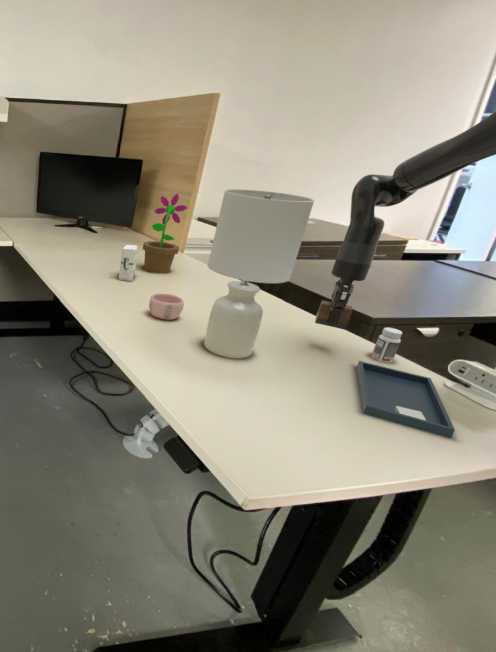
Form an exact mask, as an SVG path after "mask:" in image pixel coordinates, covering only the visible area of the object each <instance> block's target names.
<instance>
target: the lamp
mask: <svg viewBox="0 0 496 652" xmlns="http://www.w3.org/2000/svg"><path fill="white" fill-rule="evenodd" d="M314 203H315V199H313V198H312V197H308V196H303V195H297V194H291V193H285V192H277V191H268V190H257V189H245V188H244V189H241V188H229V189H228V188H227V189H225V190H224V193H223V197H222V202H221V205H220V210H219V215H218V219H217V223H216V228H215V232H214V236H213V240H212V245H211V249H210V252H209V259H208V261H207V268H208V269H209V270H210V271H212V272H214V273H216V274H218V275H221V276H225V277H226V278H227V277H228V278H231V279H235V280H232V281H229V282H227V288H228V293H227V294H226V295H222V296H220V297H218V298H216V300H214V302H213V305H212V307H211V310H210V314H209V317H208V321H207V324H206V325H207V326H206V329H205V335H204V341H203V345H204V347H205V349H206V350H208V352H211V353H213V354H215V355H216V356H217V355H218V356H219V357H224V358H229V359H246V358H248V357H250V356H251V355H252V352H253V349H254V346H255V344H256V340H257V338H258V334H259V331H260V327H261V324H262V321H263V314H264V313H263V311H264V310H263V307H262V306H261V304H259V303H258V302H257V301H256V299H255V296H256V295H257V294H258V293H259V292H260V291H261V288H260V287H259V286H258V285H257V284H254V283H258V284H259V283H260V284H284V283H287V282H289V281H290V280H291V277H292V274H293V272H294V271H293V270H294V267H295V264H296V261H297V258H298V255H299V251H300V249H301V246H302V242H303V239H304V235H305V233H306V229H307V226H308V222H309V219H310V216H311V212H312V210H313V206H314Z"/></svg>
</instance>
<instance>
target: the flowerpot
mask: <svg viewBox="0 0 496 652" xmlns="http://www.w3.org/2000/svg"><path fill="white" fill-rule="evenodd" d="M179 196H180V195H179V194H178V193H176V194H174V195H173V196H172V198H171V200H170V201H169V200H168V198H167V197H166V196H164V195H161V197H160V202H161V204H162V205H163V206H164V207H158V208H156V209H154V213H155V214H157V215H162V214H165V215H164V216H163V218H162V220H161V221H162V222H161V223H160V222H155V223H154V224H152V225H151V228H152V229H153V230H154V231H155V232H162V233H161V238H160V241H158V240H157V241H154V240H153V241H152V240H151V241H150V240H149V241H143V244H142V250H144V263H143V266H144V267H143V270H145V272H148V273H153V274H167V273H170V270H171V267H172V265H173V262H174V259H175V255H178V254H179V252H180V251H179V250H180V246H178V245H176V244H174V243H170V242H166V241H174V240H175V238H174V237H173V236H172V235H169V234H165V233H166V228H167V224H168V223H169V221H170V219H171V218H172V220H173V221H174V223H176V224H180V223H181V217H180V216H179V214H178V213H176V212H179V213H180V212H183V211H185V210H187V206H188V205H187V206H186V205H184V204H180V205H177V204H178V201H179V199H180V198H179ZM175 205H176V206H175ZM165 207H166V208H165Z"/></svg>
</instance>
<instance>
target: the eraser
mask: <svg viewBox="0 0 496 652" xmlns="http://www.w3.org/2000/svg"><path fill="white" fill-rule="evenodd" d="M332 305H333V302H331V301H327V300H323V299H322V300H321V301H320V304H319V307H318V310H317V313H316V316H315V319H314V324H318V325H323V326H328V327H331V328H335V329H341V330H346V329H347V326H348V324H349V321H350V318H351V315H352V313H353V306H352V305H348V304H346V306H345V308H344V311H343V312H342V313H341V314H340V316H339V319H338V322H337V324H336V325H335V326H333V325H328V324H327V320H328V317H329V315H330V312H331V307H332ZM336 306H337V307H341V306H342V305H339V304H337V305H336Z"/></svg>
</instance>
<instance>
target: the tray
mask: <svg viewBox="0 0 496 652" xmlns="http://www.w3.org/2000/svg"><path fill="white" fill-rule="evenodd" d="M355 369H356V375H357V382H358V388H359V396H360V400H361V401H360V402H361V409H362V414H364V415H368V416H370V417H375V418H377V419H381V420H385V421H389V422H392V423H395V424H398V425H402V426H403V425H404V426H406V427H410V428H413V429H416V430H421V431H425V432H427V433H430V434H434V435H437V436H442V437H445V438H449V439H452V437H453V435H454V433H455V431H456V429H455V427H454V424H453V423H452V421H451V419H450V417H449V414H448V412H447V410H446V408H445V405H444V404H443V401H442V399H441V397H440V395H439V393H438V391H437V389H436V387H435V384H434V382H433V380H432V378H431V377H427V376H423V375H419V374H415V373H412V372H407V371H402V370H399V369H394V368H390V367H386V366H382V365H378V364H373V363H369V362H365V361H361V360H358V362H357V364H356V368H355ZM396 406H399V407H403V408H407V409H412V410H416V411H420V412H422V414H423V416H424V417H425V419H426V420H422V419H418V418H415V417H411V416H408V415H404V414H400V413H397V412H394V409H395V407H396Z"/></svg>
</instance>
